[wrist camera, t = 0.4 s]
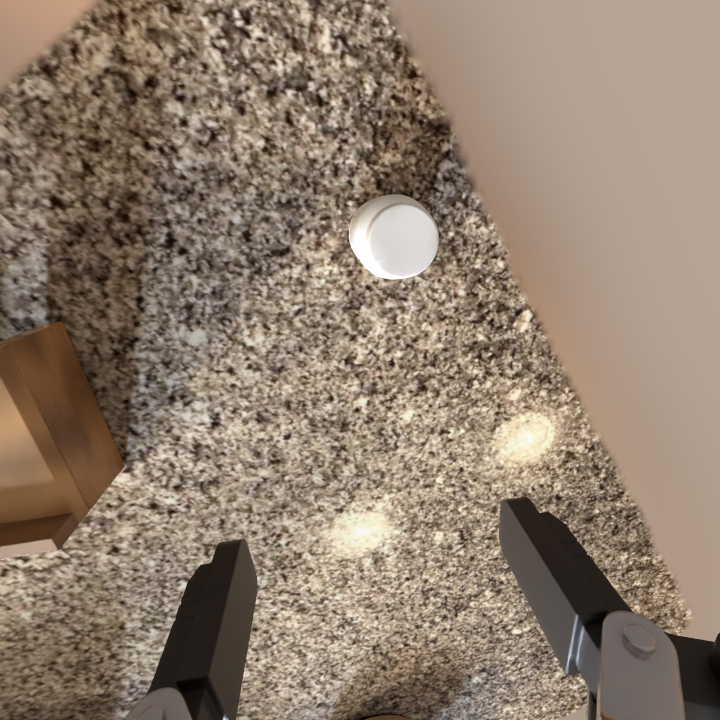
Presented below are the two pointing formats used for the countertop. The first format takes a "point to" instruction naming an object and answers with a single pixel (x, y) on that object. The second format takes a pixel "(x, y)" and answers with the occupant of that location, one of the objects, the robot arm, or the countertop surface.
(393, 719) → the alarm clock
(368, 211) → the pill bottle
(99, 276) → the countertop surface
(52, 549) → the shelf
